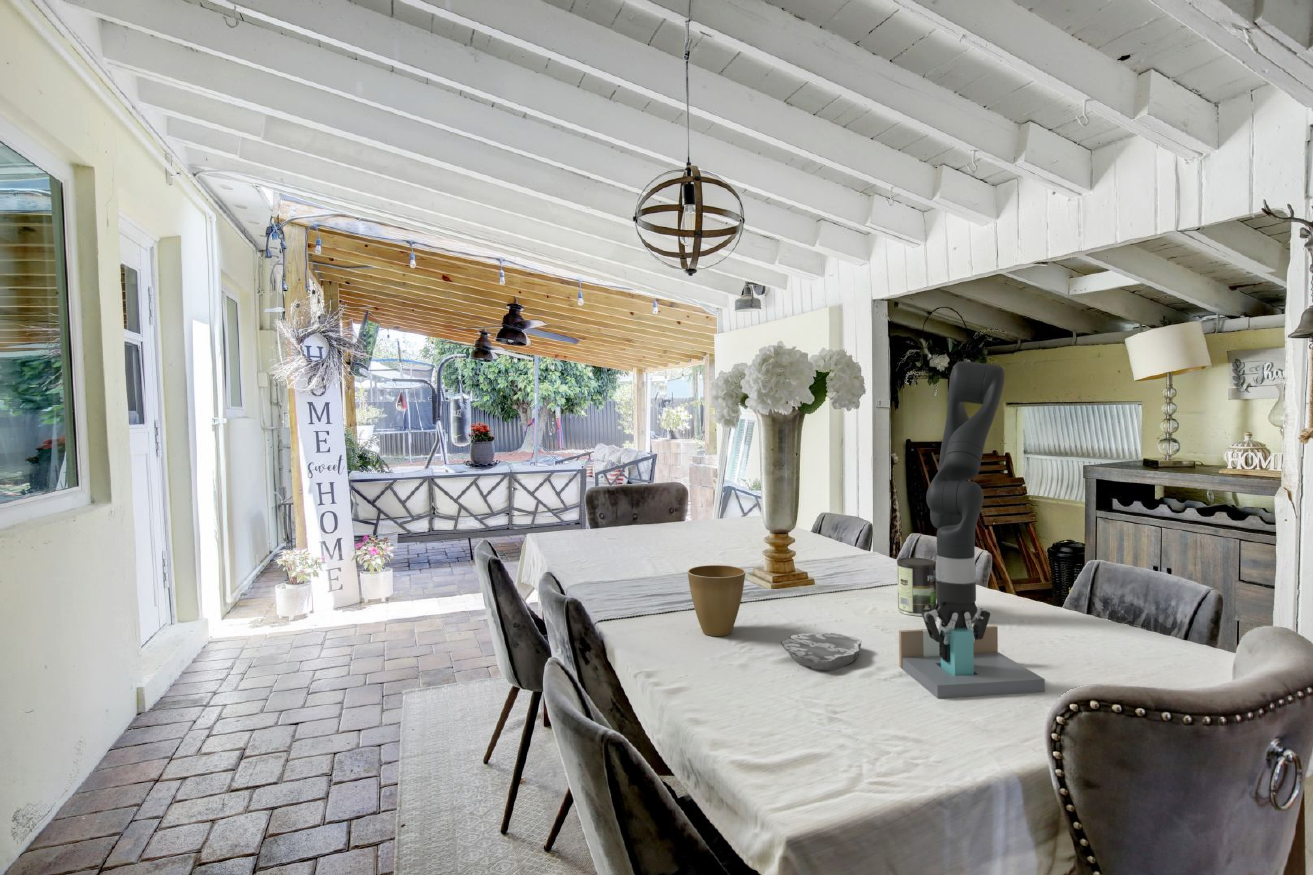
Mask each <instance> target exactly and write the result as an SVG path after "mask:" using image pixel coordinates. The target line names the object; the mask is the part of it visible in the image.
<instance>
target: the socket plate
mask: <svg viewBox="0 0 1313 875" xmlns="http://www.w3.org/2000/svg"><path fill="white" fill-rule="evenodd" d="M998 627H999V626H996V625H987V627H986V630H985V633H984V636H983V639H981V640H980V639H978V640H976V641H975V642H974V675H961V676H952V675H950V674H949V673H948V672H946V671H945V670H944V669H942V668H941V657H940V655H939V642H936V641H935V640H934V639H932V638H930V636H929V633H928V630H927V628H925V629H924V628H922V629H921V628H920V629H918V628H917V629H902V630H898V651H899V652H898V654H899V658H898V659H899V660H898V661H899V663H898V664H899V665H898V666H899V668H901V669H902V671H904V672H905V674H906V673H907V675H909V676H910V677H911V678H913V680H915V682H917V683H919V685H921V686H922V687H923V688H924V689H926V690H927V691H928V692H929V693H931V695H933V696H934V697H936V698H937V699H945V698H949V699H950V698H959V697H960V698H961V697H962V698H963V697H976V696H977V697H978V696H992V695H993V696H994V695H996V696H997V695H1008V694H1009V695H1011V694H1014V695H1015V694H1027V693H1040V692H1041V693H1043V692H1044V693H1045V690H1046V681H1045V678H1044V677H1042V676H1040V675H1038V674H1037V673H1035V672H1034V671H1032V670H1030V669H1028V668H1026V667H1025V666H1023V665H1021V664H1019V663H1018V662H1017V661H1014V660H1013V659H1012V658H1010V657H1008V656H1006V655H1005V654H1003V653H1001V652H999V650H998V649H999V645H998V644H999V643H998V642H999V640H998V639H999V637H998V636H999V635H998V633H999V632H998ZM937 629H938V631H939V630H940V629H939V627H937Z"/></svg>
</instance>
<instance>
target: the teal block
mask: <svg viewBox="0 0 1313 875" xmlns="http://www.w3.org/2000/svg"><path fill="white" fill-rule="evenodd" d="M946 628H947V626H946ZM949 645H950V662H945V661H944V660H943V659H942V658H941V668H942V669H944V670H945V671H946V672H948V673H949V674H950V675H952V676H961V675H974V644H973V631H972V630H967V629H966V627H964V628H962V627H956V628H954V631H951V634H950V641H949Z"/></svg>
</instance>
